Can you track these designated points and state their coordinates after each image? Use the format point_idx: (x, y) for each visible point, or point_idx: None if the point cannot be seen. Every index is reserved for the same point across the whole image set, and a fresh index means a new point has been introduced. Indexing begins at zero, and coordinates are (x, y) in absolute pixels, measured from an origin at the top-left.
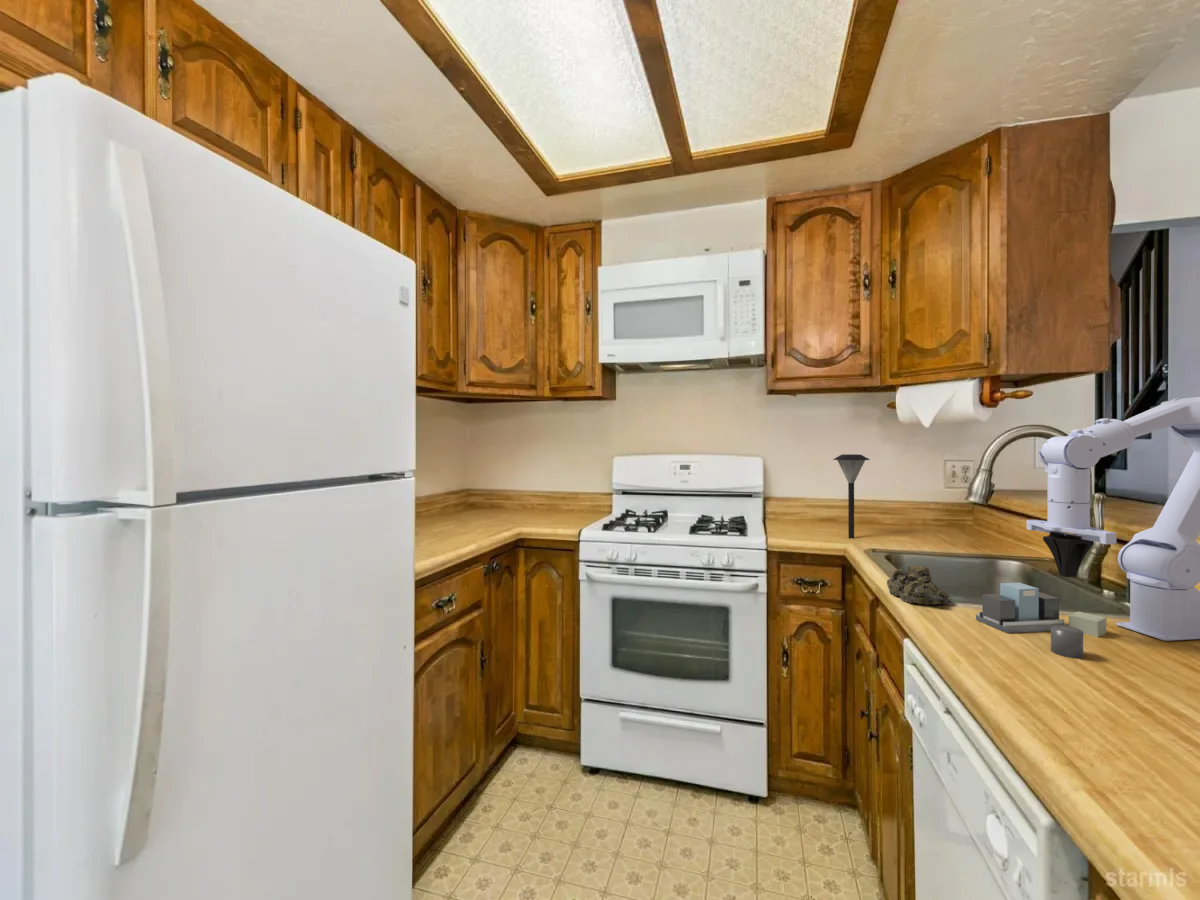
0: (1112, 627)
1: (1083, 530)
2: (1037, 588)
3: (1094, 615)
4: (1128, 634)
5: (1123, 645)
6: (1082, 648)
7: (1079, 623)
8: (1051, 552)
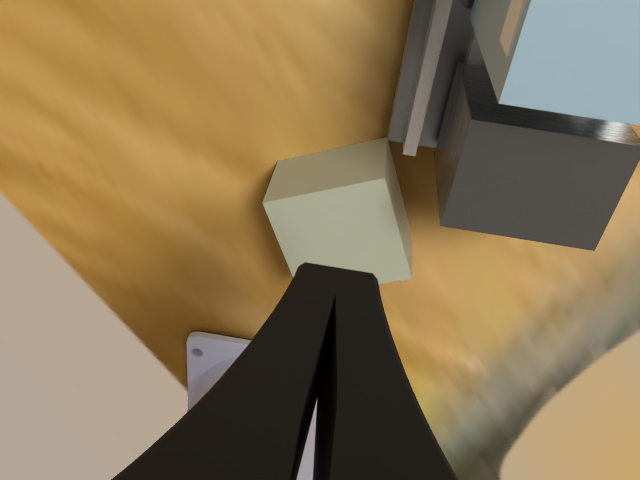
0: None
1: None
2: (505, 95)
3: None
4: None
5: (177, 159)
6: None
7: (340, 171)
8: (447, 466)
